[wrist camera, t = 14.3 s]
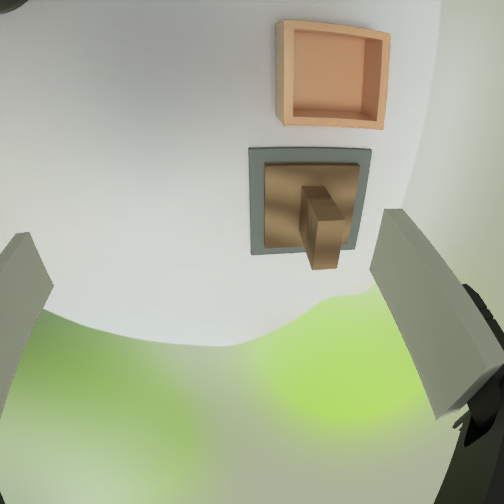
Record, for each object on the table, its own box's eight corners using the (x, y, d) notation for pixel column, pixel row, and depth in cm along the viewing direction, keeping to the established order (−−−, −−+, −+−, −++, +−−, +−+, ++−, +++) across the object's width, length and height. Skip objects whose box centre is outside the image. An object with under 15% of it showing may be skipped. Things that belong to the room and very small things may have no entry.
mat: (248, 148, 39) (249, 149, 39) (370, 149, 40) (371, 150, 39) (251, 252, 49) (251, 255, 49) (353, 247, 50) (354, 249, 50)
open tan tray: (275, 24, 29) (284, 19, 24) (368, 34, 30) (390, 33, 25) (275, 114, 36) (283, 125, 32) (363, 118, 37) (383, 130, 32)
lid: (264, 163, 40) (274, 198, 32) (357, 163, 40) (388, 196, 32) (264, 243, 48) (272, 290, 39) (345, 239, 48) (366, 282, 40)
